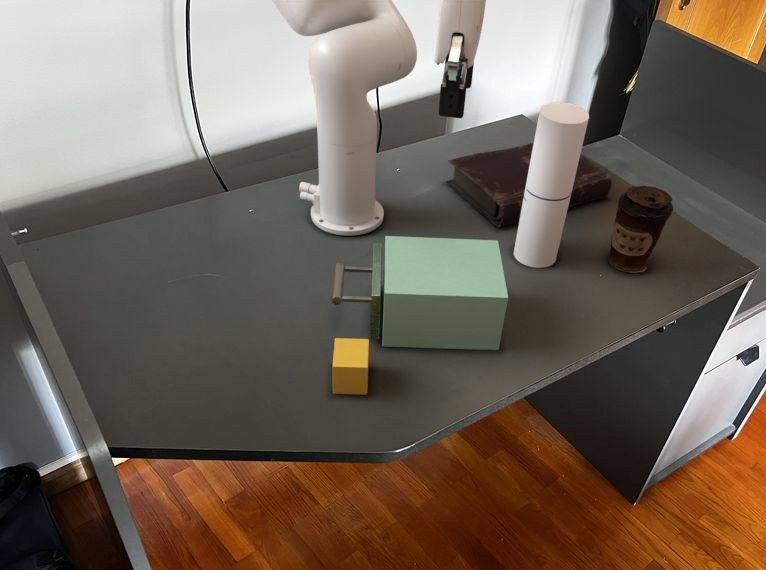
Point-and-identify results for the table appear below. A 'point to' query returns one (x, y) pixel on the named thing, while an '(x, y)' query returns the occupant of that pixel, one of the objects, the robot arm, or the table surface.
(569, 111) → the cylindrical container
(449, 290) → the fridge
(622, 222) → the coffee cup
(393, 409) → the table surface
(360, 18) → the robot arm
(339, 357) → the block
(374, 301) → the fridge drawer
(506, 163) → the diary
